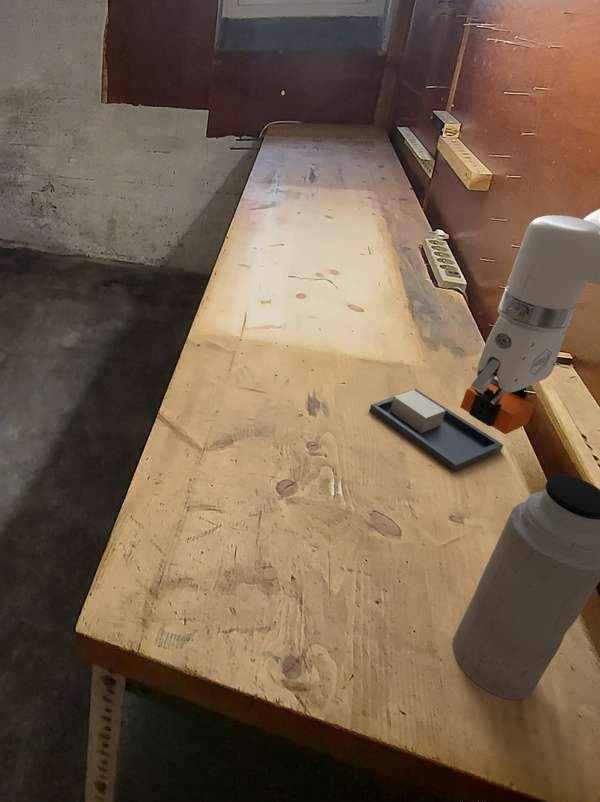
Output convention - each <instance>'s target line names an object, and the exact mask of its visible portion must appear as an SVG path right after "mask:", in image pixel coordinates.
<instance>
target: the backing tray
mask: <svg viewBox="0 0 600 802" xmlns="http://www.w3.org/2000/svg"><path fill="white" fill-rule="evenodd" d="M411 390H415V391H416V392H418V393H419V394H421V395H422V396H424V397H426V398H427V399H429V400H430V401H432V402H433V403H435V404H436V405H438V406H440V407H441V408H443V409H444V410H446V412H445V414H444V417H443V420H442V423H441V425H440V426H438V427H435V428H433V429H430V430H428V431H425V432H423V433H420V432H419V431H417V430H416V429H414V428H413V427H412V426H410V425H409V424H407V423H406V422H404V421H403V420H402V419H400V418H399V417H397V416H396V415H394V414H393V413H392V412H390V409H391V405H392V402H393V399H394V396H397V395H400V394H403V393H406V392H408V391H411ZM411 390H408V391H404V392H402V393H400V394H399V393H398V394H396V395H393V396H390V397H388V398H385V399H383V400H379V401H377V402H374V403H371V404H370V407H369V413H371V414H373V415H374V416H375V417H376V418H378V419H380V421H382V422H384V423H385V424H386V425H388V427H390V428H392V429H393V430H394V431H396V432H397V433H398V434H400V435H401V436H403V437H404V438H406V439H407V440H408V441H410V442H411V443H413V444H414V445H415V446H417V447H418V448H419V449H421V450H422V451H424V452H425V453H426V454H428V455H429V456H430V457H432V459H433V458H434V460H436V461H437V462H439V463H440V464H441V465H443V466H444V467H445V468H447V469H448V470H450V472H453V473H456V472H458V471H459V470H462V469H465V468H466V467H469V466H471V465H473V464H476V463H478V462H480V461H482V460H485V459H487V458H490V457H492V456H494V455H496V454H499V453H500V452H502V450H503V447H504V444H503V443H502V442H500V441H498V439H496V438H494V437H492V436H491V435H489V434H488V433H486V432H484V431H482V430H481V429H479V428H478V427H477V426H475V425H473V424H472V423H470V422H468V421H467V420H465V419H464V418H462V417H461V416H459V415H458V414H456V413H454V412H453V411H451V410H449V409H448V408H447V407H445V406H444V405H441V404H440V403H438V401H436V400H434V399H433V398H431V397H429V396H428V395H426V394H425V393H424V392H422V391H420V390H418V389H416V388H414V389H411Z"/></svg>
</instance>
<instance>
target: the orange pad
mask: <svg viewBox="0 0 600 802" xmlns="http://www.w3.org/2000/svg"><path fill="white" fill-rule="evenodd" d="M488 388H489V389H490V390H492V391H493V392H494V394H495V392H496V391H497V389H498V387H496V386H494V385H492V384H489V385H488ZM475 395H476V394H475V390H474V389H473V388H472V387H471V386H470V387H468V388H466V390H465V393H464V395H463V398H462V401H461V404H460V407H459V408H461V409H462V410H464V411H465V412H467V413H469V411H470V409H471V406H472V403H473V401H474V398H475ZM499 403H500V404H502V405H501V408H500V410H499V413H498V415H497V418H496V420H495V423H494V425H492V426H491V427H492V428H494V429H495V430H498V432H500V433H502V434H504V435H507V434H510V433H512V432H513V431H516V430H518V429H520V428H522V427H525V426H526V425H528V423H529V421H530V418H531V416H532V414H533V412H534V409H535V408H536V404H534V403H532V402H530V401H528V400H527V399H523V398H521V397H519V396H517V395H515V394H513V393H512V392H506V391H505V393H504V395H503V396H502V398H501V400H500V402H499Z"/></svg>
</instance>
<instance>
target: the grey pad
mask: <svg viewBox="0 0 600 802" xmlns="http://www.w3.org/2000/svg"><path fill="white" fill-rule="evenodd" d="M405 392H406V393H405ZM405 392H402V393H403V394H402V393H400V395H399V394H396V395H397V396H396V395H393V396H394V399H393V402H392V405H391V409H390V412H392V413H393V414H394V415H396V416H397V417H399V418H400V419H402V420H403V421H404V422H406V423H407V424H409V425H410V426H412V427H413V428H414V429H416V430H417V431H419V432H420V433H423V432H425V431H428V430H430V429H433V428H435V427H438V426H440V425H441V423H442V420H443V417H444V414H445V412H446V410H444V409H443V408H441V407H440V406H438V405H436V404H435V403H433V402H432V401H430V400H429V399H427V398H426V397H424V396H422V395H421V394H419V393H418V392H416V391H415V390H413V389H411V391H410V390H408V392H407V391H405Z"/></svg>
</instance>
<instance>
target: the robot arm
mask: <svg viewBox="0 0 600 802" xmlns="http://www.w3.org/2000/svg"><path fill="white" fill-rule="evenodd" d="M587 284H594V285H598V286H600V208H598V209H596V210H594V211H593V212H590V214H588V215H586V216H584V218H582V219H581V218H578V217H575V216H569V215H560V214H559V215H557V214H555V215H543V216H539V217H536V218H535V219H533V220H532V221H531V222H530V223H529V224H528V226H527V228H526V230H525V233H524V235H523V239H522V241H521V244H520V247H519V249H518V251H517V255H516V258H515V261H514V263H513V266H512V269H511V272H510V274H509V278H508V280H507V283H506V286H505V288H504V290H503V294H502V297H501V298H500V302H499V304H498V308H497V313H499V316H498V318H497V319H496V322H495V323H494V325H493V327H492V329H491V331H490V333H489V335H488V337H487V339H486V341H485V344H484V346H483V349H482V350H481V353H480V356H479V359H478V362H477V365H476V369H475V373H476V376H477V377H476V378H475V379H474V380H473V382H472V383H471V385H470V388H471V387H472V388H473V389H474V390H475V394H476V395H475V398H474V401H473V403H472V406H471V409H470V411H469V412H468V413H469V415H470V416H471V417H472V418H473V419H476V420H478V421H479V422H481V423H482V424H484V425H485V426H487V427H492V425H494V423H495V420H496V418H497V415H498V413H499V410H500V408H501V405H502V404H500V403H499V402H500V400H501V398H502V396H503V395H504V393H505V391H506V392H512V393H513V394H515V395H517V396H519V397H521V398H523V399H525V400H527V397H528V392H529V391H531V389H532V387H533V385H536V384H538V383H540V382H542V381H544V380H546V379H548V378H549V377H550V376H551V375H552V373H553V371H554V368H555V366H556V363H557V360H558V357H559V355H560V352H561V348H562V346H563V342H564V340H565V336H566V333H567V330H568V327H569V325H570V323H571V320H572V319H573V316H574V314H575V312H576V310H577V307H578V305H579V302H580V300H581V298H582V295H583V293H584V291H585V288H586V286H587ZM496 378H497V379H496ZM489 384H492V385H494V386H496V387H498V389H497V391H496V392H495V394H494V392H493V391H492V390H490V389H489V388H488V385H489Z"/></svg>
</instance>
